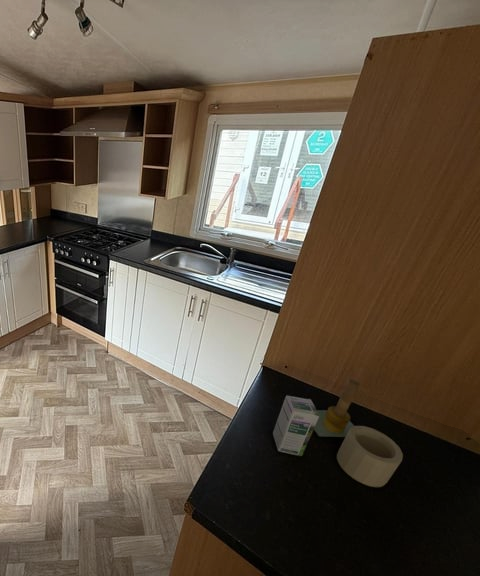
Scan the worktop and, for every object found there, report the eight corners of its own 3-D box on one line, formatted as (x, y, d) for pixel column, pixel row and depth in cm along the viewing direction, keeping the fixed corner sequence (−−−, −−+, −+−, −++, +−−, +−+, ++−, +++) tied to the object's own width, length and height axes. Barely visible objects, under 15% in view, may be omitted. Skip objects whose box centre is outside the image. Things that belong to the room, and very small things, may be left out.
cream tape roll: (365, 450, 81) (379, 426, 77) (397, 488, 72) (414, 463, 68) (327, 449, 81) (339, 425, 77) (354, 487, 73) (369, 462, 69)
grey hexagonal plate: (340, 411, 92) (341, 410, 92) (363, 438, 84) (363, 437, 84) (299, 410, 93) (300, 409, 92) (318, 437, 85) (319, 436, 84)
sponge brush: (336, 418, 89) (357, 376, 82) (348, 433, 85) (371, 390, 78) (318, 418, 90) (337, 375, 82) (329, 433, 85) (351, 389, 78)
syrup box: (277, 452, 80) (293, 412, 74) (271, 433, 86) (286, 394, 79) (301, 457, 79) (320, 416, 73) (294, 437, 84) (311, 398, 78)
